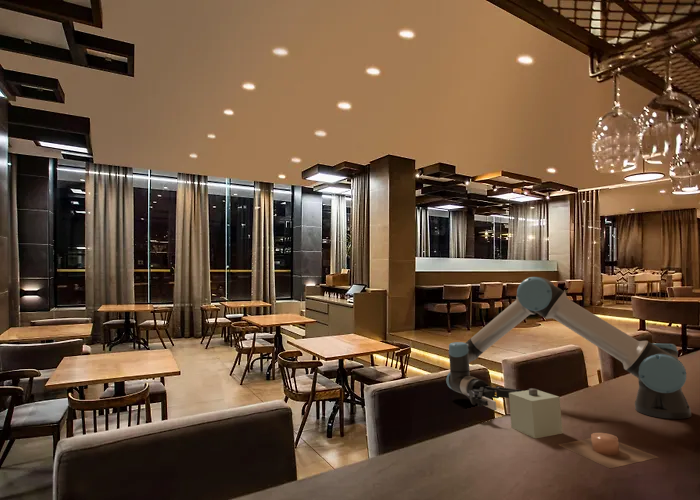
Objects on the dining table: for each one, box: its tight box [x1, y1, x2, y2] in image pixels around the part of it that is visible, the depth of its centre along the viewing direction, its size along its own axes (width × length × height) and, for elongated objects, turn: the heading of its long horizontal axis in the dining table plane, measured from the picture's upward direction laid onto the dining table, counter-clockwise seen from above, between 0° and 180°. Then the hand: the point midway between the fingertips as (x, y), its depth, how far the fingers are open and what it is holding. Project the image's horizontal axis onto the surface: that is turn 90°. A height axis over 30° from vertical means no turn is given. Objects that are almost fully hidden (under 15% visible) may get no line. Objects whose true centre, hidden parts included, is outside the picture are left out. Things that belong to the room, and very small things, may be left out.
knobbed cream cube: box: [508, 387, 564, 439], centre depth 124 cm, size 10×10×13 cm
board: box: [557, 437, 660, 470], centre depth 106 cm, size 16×16×1 cm
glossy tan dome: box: [590, 432, 619, 455], centre depth 107 cm, size 6×6×4 cm
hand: (513, 403), depth 133 cm, fingers open, 13 cm apart
